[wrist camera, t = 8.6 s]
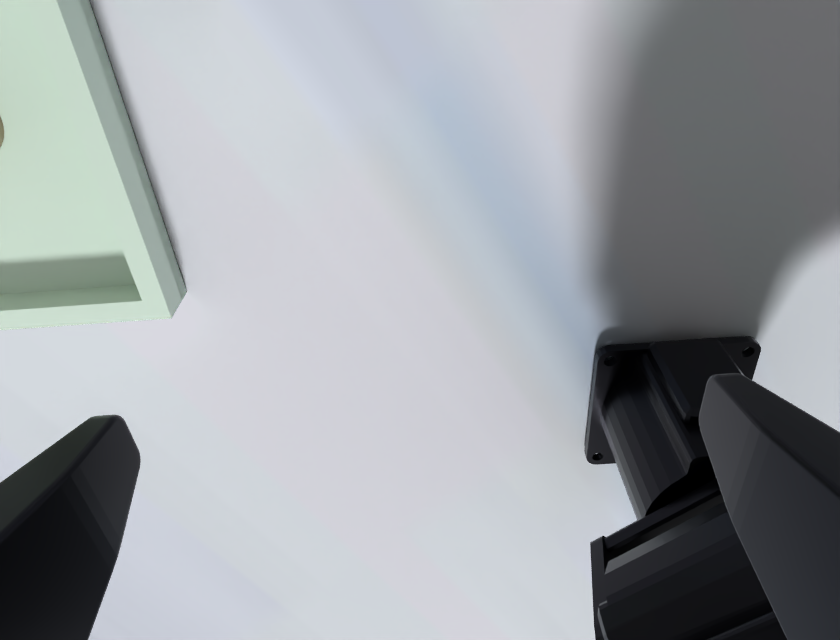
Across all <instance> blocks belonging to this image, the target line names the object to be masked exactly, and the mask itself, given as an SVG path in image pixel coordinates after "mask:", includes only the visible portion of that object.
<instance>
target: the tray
mask: <svg viewBox="0 0 840 640" xmlns="http://www.w3.org/2000/svg"><path fill="white" fill-rule="evenodd" d="M0 117H1V119H2V122H3V126H4V140H3V143H2V146H1V147H0V330H11V329H26V328H40V327H55V326H69V325H83V324H98V323H112V322H126V321H141V320H155V319H170V318H172V317H173V315H174V313H175V312H176V310H177V308H178V306H179V305H180V303H181V301H182V299H183V298H184V296H185V294H186V292H187V291H186V288H185V285H184V282H183V279H182V276H181V273H180V270H179V267H178V264H177V261H176V258H175V255H174V252H173V249H172V246H171V243H170V240H169V237H168V234H167V231H166V228H165V225H164V222H163V219H162V216H161V213H160V210H159V207H158V204H157V201H156V199H155V196H154V193H153V190H152V187H151V184H150V181H149V178H148V175H147V172H146V169H145V166H144V163H143V160H142V157H141V154H140V151H139V148H138V145H137V142H136V139H135V136H134V133H133V130H132V127H131V124H130V121H129V118H128V115H127V112H126V109H125V106H124V103H123V100H122V97H121V94H120V91H119V88H118V85H117V82H116V79H115V76H114V73H113V70H112V67H111V64H110V61H109V58H108V55H107V52H106V49H105V46H104V43H103V40H102V37H101V34H100V31H99V28H98V25H97V22H96V19H95V16H94V14H93V11H92V8H91V5H90V2H89V0H0Z"/></svg>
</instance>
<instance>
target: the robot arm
mask: <svg viewBox="0 0 840 640" xmlns="http://www.w3.org/2000/svg"><path fill="white" fill-rule="evenodd" d="M747 347H749V348H748V349H747V350H745V351H743V350H744V349H745V348H747ZM760 352H761V347H760V345H759V344H758V342H757V341H756V340H755V339H754V338H753V337H750V336H741V337H726V338H709V339H694V340H679V341H664V342H652V343H637V344H622V345H608V346H604V347H602V348H600V349H599V350H598V351H597V352H596V355H595V362H594V371H593V380H592V389H591V397H590V406H589V415H588V424H587V433H586V442H585V455H586V458H587V461H588V462H589V463H591V464H610V463H616V464H617V467H618V469H619V472H620V475H621V478H622V480H623V483H624V486H625V488H626V491H627V494H628V496H629V499H630V502H631V504H632V507H633V510H634V512H635V515H636V518H637V521H635V522H634V523H632V524H630V525H628V526H626V527H624V528H622V529H621V530H619V531H617V532H615V533H613V534H611V535H609V536H608V537H604V536H602V537H600V538H598V539H596V540H595V541H593V542H591V544H590V545H591V567H592V588H593V610H594V628H595V637H596V640H840V432H838V431H837V430H835V429H833V428H832V427H830V426H828V425H827V424H825V423H823V422H822V421H820V420H818V419H816V418H815V417H813V416H811V415H810V414H808V413H806V412H805V411H803V410H801V409H800V408H798V407H796V406H794V405H793V404H791V403H789V402H788V401H786V400H784V399H783V398H781V397H779V396H778V395H776V394H774V393H772V392H771V391H769V390H767V389H766V388H764V387H762V386H761V385H759V384H757V383H756V382H754V381H752V378H753V375H754V372H755V368H756V365H757V362H758V358H759V355H760ZM609 356H613V357H612V358H611V359H609V360H605V359H606V358H607V357H609ZM595 453H598V454H595ZM139 469H140V453H139V450H138V448H137V446H136V444H135V441H134V439H133V437H132V435H131V433H130V431H129V429H128V427H127V424H126V422H125V421H124V419H123V418H122V417H121V416H119V415H103V416H94V417H91V418H89V419H88V420H86V421H85V422H84V423H82V424H81V425H79V426H78V427H77V428H75V429H74V430H72V431H71V432H70V433H68V434H67V435H66V436H64V437H63V438H61V439H60V440H59V441H57V442H56V443H55V444H53V445H52V446H50V447H49V448H48V449H46V450H45V451H43V452H42V453H41V454H39V455H38V456H37V457H35V458H34V459H32V460H31V461H30V462H28V463H27V464H26V465H24V466H23V467H21V468H20V469H19V470H17V471H16V472H14V473H13V474H12V475H10V476H9V477H8V478H6V479H5V480H3V481H2V482H1V483H0V640H88V638H89V636H90V633H91V630H92V627H93V625H94V622H95V619H96V616H97V613H98V611H99V608H100V605H101V602H102V600H103V597H104V594H105V591H106V589H107V586H108V583H109V580H110V578H111V575H112V572H113V569H114V566H115V563H116V560H117V557H118V553H119V550H120V546H121V543H122V539H123V535H124V530H125V526H126V522H127V518H128V514H129V510H130V506H131V502H132V497H133V493H134V489H135V485H136V481H137V477H138V473H139Z"/></svg>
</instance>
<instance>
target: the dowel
mask: <svg viewBox="0 0 840 640" xmlns="http://www.w3.org/2000/svg"><path fill="white" fill-rule="evenodd" d="M3 140H4V126H3V122H2V119H1V117H0V147H1V146H2V143H3Z"/></svg>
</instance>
